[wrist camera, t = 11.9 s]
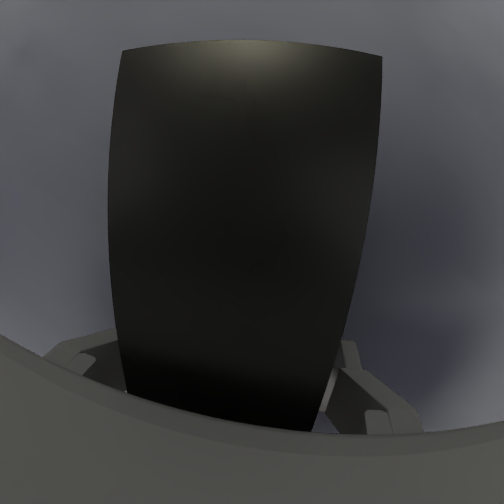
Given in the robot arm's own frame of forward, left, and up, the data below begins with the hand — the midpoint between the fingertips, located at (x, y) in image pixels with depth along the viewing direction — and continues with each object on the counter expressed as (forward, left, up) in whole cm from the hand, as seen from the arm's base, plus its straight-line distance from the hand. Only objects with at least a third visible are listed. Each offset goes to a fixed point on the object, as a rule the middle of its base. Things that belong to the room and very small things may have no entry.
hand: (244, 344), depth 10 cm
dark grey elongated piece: (+5, 0, -3) cm, 5 cm away
